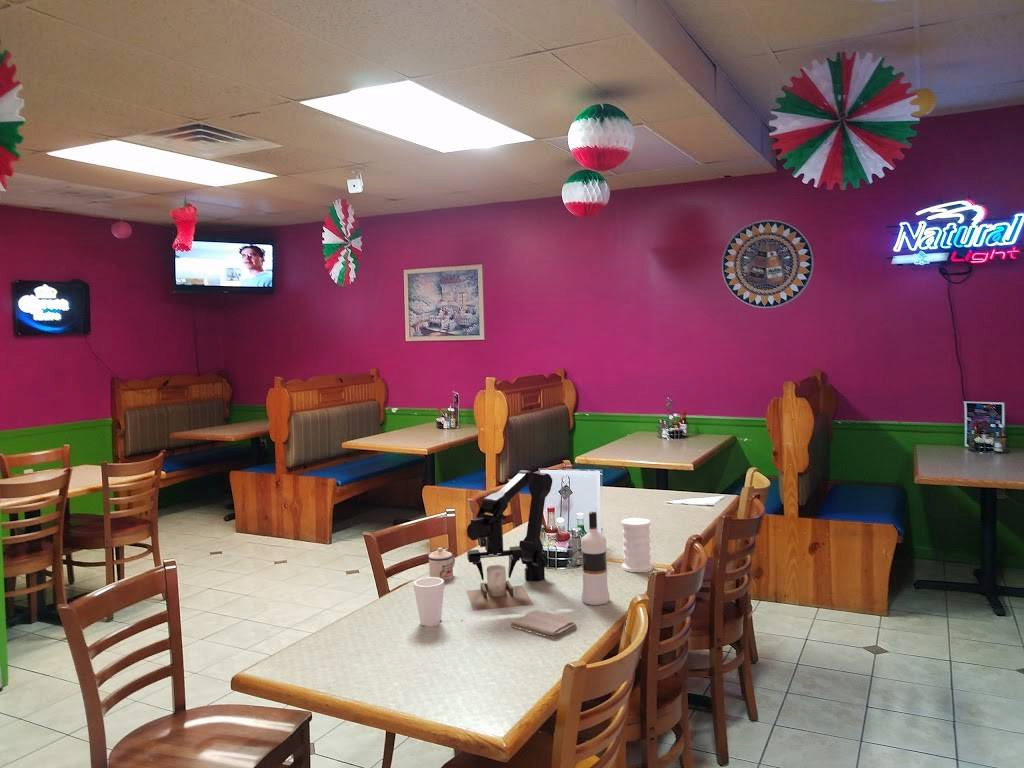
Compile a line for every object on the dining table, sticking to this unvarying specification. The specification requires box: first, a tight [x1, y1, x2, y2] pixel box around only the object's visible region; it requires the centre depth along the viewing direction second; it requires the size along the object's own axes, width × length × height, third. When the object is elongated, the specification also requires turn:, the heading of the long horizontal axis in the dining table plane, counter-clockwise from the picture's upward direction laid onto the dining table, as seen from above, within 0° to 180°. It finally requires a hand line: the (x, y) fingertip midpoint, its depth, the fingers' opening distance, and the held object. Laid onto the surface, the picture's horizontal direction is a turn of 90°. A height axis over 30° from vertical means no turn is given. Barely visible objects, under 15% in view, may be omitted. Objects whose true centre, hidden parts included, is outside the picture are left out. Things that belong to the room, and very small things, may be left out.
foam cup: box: [413, 576, 445, 627], centre depth 239 cm, size 10×9×13 cm
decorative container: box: [620, 517, 654, 573], centre depth 286 cm, size 12×12×18 cm
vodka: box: [580, 511, 611, 606], centre depth 252 cm, size 9×9×30 cm
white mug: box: [486, 564, 507, 597], centre depth 259 cm, size 10×6×9 cm, turn 10°
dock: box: [466, 580, 534, 611], centre depth 257 cm, size 20×20×4 cm
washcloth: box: [510, 609, 578, 640], centre depth 232 cm, size 12×18×3 cm, turn 50°
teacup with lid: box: [427, 547, 456, 581], centre depth 283 cm, size 12×9×12 cm
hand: (496, 578), depth 261 cm, fingers open, 9 cm apart
